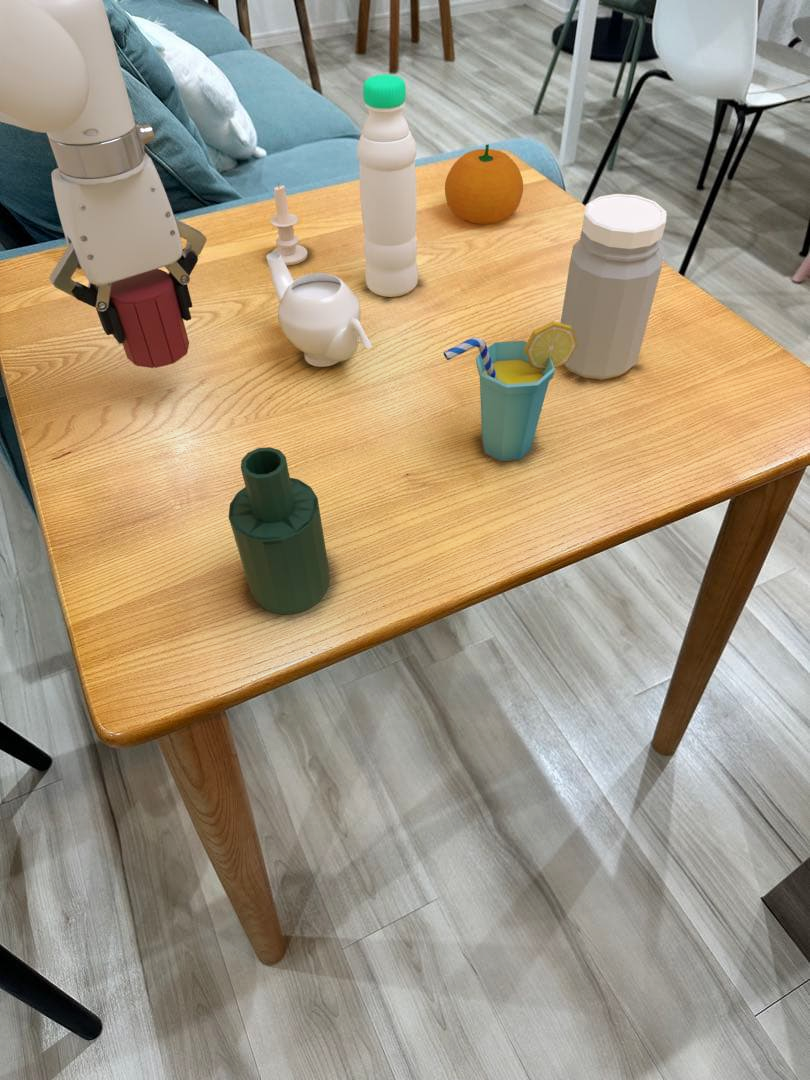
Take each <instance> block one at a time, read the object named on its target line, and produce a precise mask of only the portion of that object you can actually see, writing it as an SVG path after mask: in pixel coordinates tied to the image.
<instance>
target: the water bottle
mask: <svg viewBox="0 0 810 1080" xmlns="http://www.w3.org/2000/svg"><path fill="white" fill-rule="evenodd" d="M406 89H407V88H406V83H405V81H404V79H403V78H401V77H400V76H397V75H394V74H386V73H384V74H376V75H372V76H370V77H368V78H367V79H366V80H365V81H364V83H363V86H362V97H363V102H364V107H365V108H366V109H367V111H368V115H367V118H366V120H365V121H364V124H363V127H362V131H361V134H360V137H359V139H358V142H357V148H356V154H357V159H358V161H359V198H360V211H361V222H362V229H363V234H364V235H363V254H364V258H365V267H364V268H365V269H364V271H365V272H364V275H365V276H364V277H365V283H366V284H365V285H366V287H367V288H368V289H369V290H370V291H371V292H372V293H373V294H375V295H378V296H381V297H387V298H397V297H401V296H404V295H407V294H409V293H411V292H412V291H413V290H414V289H415V288H416V287H417V285H418V282H419V281H418V280H419V272H418V261H417V257H418V238H417V233H416V232H417V231H416V230H417V218H418V217H417V216H418V215H417V214H418V189H417V185H418V183H417V171H416V161H415V160H416V157H417V143H416V141H415V138H414V136H413V133H412V131H411V130H410V128H409V124H408V121H407V120H406V118H405V117H404V115H403V108H404V107H405V105H406V97H407V95H406V94H407V92H406Z"/></svg>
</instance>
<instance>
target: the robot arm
mask: <svg viewBox="0 0 810 1080" xmlns="http://www.w3.org/2000/svg"><path fill="white" fill-rule="evenodd" d="M132 109H133V108H132V106H131V102H130V98H129V94H128V91H127V87H126V82H125V79H124V75H123V71H122V67H121V63H120V59H119V55H118V52H117V49H116V44H115V40H114V37H113V32H112V30H111V25H110V22H109V17H108V14H107V10H106V7H105V4H104V0H0V122H1V123H3V124H7V125H11V126H15V127H18V128H21V129H24V130H28V131H31V132H36V133H42V134H43V133H44V134H46V136H47V139H48V141H49V144H50V147H51V151H52V153H53V155H54V158H55V162H56V164H57V168H55V169H53V170H52V171H51V174H50V175H51V184H52V190H53V195H54V200H55V205H56V209H57V212H58V216H59V220H60V224H61V228H62V230H63V234H64V237H65V241H66V244H67V247H66V248H65V250H64V252H63V253H62V255H61V256H60V258H59V260H58V262H57V263H56V265H55V267H54V268H53V270H52V271H51V273H50V274H49V277H48V278H49V282H50V283H51V285H52V286H53V287H54V288H55V289H58V290H59V291H62V292H63V293H65V294H67V295H69V296H72V297H73V298H75V299H76V300H77V301H79V302H82V303H84V304H86V305H88V306H91V307H93V308H95V310H96V313H97V316H98V318H99V321H100V324H101V326H102V329H103V331H104V333H105V334H106V336H110V335H112V336H113V338H114V339H115V340H116V341H117V343H118V344H119V345H122V343H124V341H126V339H125V336H124V333H123V330H122V327H121V324H120V321H119V318H118V315H117V312H116V310H115V308H114V307H113V306H112V305H111V303H110V302H109V299H110V293H111V286H112V283H113V282H117V281H120V280H123V279H126V278H130V277H133V276H136V275H139V274H143V273H146V272H149V271H152V270H155V269H161V268H165V269H166V270H167V271H168V274H169V275H170V277H171V279H172V280H173V283H174V287H175V291H176V295H177V298H178V302H179V306H180V310H181V313H182V317H183V321H186V322H188V321H191V320H192V315H191V311H190V308H193V302H192V299H191V298H192V297H191V294H190V290H189V286H188V284H189V283H190V281H191V274H192V272H193V270H194V269H195V267H196V265H197V264H198V261H199V255H201V253H202V251H203V249H204V247H205V245H206V243H207V237H206V235H205V234H203V233H202V232H201V230H199V229H196V228H194V227H193V226H190V225H189V224H187V223H185V222H183V221H181V220H179V219H177V218H175V215H174V212H173V209H172V206H171V203H170V200H169V198H168V195H167V192H166V190H165V187H164V185H163V182H162V180H161V178H160V175H159V173H158V171H157V168H156V166H155V164H154V162H153V160H152V158H151V156H149V154H148V153H147V152H146V150H145V148H146V146H145V145H147V144H148V143H149V142H153V141H156V138H155V133H154V130H153V128H152V126H151V125H150V124H149V123H148V124H144V125H142V124H138V123H137V122H135V118H134V117H135V116H134V114H133V110H132ZM181 238H182V239H184V240H186V243H185V247H183V242H182V239H181ZM76 270H82V272H83V273H84V275H85V278H86V279H87V281H88V285H85V284H82V283H80V282H78V281H75V280H73V279H72V277H73V275H74V273H75V272H76Z"/></svg>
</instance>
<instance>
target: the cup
mask: <svg viewBox="0 0 810 1080" xmlns="http://www.w3.org/2000/svg"><path fill="white" fill-rule="evenodd" d="M577 345H578V344H577V341H576V338H575V335H574V332H573V329H572V327H571V326H569V325H566V324H562V323H561V322H558V321H554V320H552V321H550V322H548V323H546V324H544V325H542V326H540V327H538V328H536V329H533V330H532V332H531V334H530V336H529V338H528V339H527V341H525V340H511V341H510V340H509V341H498V342H497V341H496V342H493V343H492V344H491V345H489V346H487V343H486V341H485V340H484V339H482V338H479V337H475V336H472V337H470V338H468V339H466V340H465V341H462V342H461V343H459V344H456V345H455V346H452V347H451V348H449V349H447V350H445V351H443V357H444V358H445V359H446V360H447V361H450V360H452V359H454V358H456V357H458V356H460V355H462V354H464V353H466V352H468V351H470V350H472V349H474V348H478V351H479V354H477V356H475V360H476V362H475V363H476V369H477V372H478V377H479V393H480V395H479V396H480V397H479V399H480V422H481V425H480V426H481V441H482V442H481V443H482V446H483V451H484V454H486V455H488V456H490V457H491V458H494V459H495V460H497V461H499V462H510V461H512V462H513V461H521V460H522V459H523V458H524V457H525V456H526V455H527V454H528V453H529V452H530V451H531V450H532V448H533V443H534V439H535V436H536V431H537V428H538V424H539V421H540V418H541V417H540V416H541V413H542V409H543V405H544V401H545V398H546V395H547V390H548V386H549V383H550V381H551V380H552V379H554V376H555V372H556V369H557V368H560V367H562V366H563V365H564V364H565V363H568V361H569V359H570V358H571V356H572V354H573V352H574V351H575V349H576V347H577Z"/></svg>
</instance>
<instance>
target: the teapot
mask: <svg viewBox="0 0 810 1080" xmlns="http://www.w3.org/2000/svg"><path fill="white" fill-rule="evenodd" d="M265 257H266V261H267V262H266V263H267V266H268V268H269V272H270V276H271V279H272V284H273V288H274V291H275V293H276V297H277V299H278V302H279V303H278V306H277V318H278V323H279V326H280V329H281V330H282V332H283V334H284V336H285V337H286V338H287V340H288V341H289V342H290V343H291V344H292V345H293V346H294V347H295V348H296V349H297V350H299V351H301V352H302V353H303V355H304V360H305V362H306V363H307V364H309V365H311V366H313V367H318V368H325V367H330V366H333V365H336V364H338V363H339V362H345V361H346V360H347V361H348V360H349V359H350V358H352V357H353V356H354V355H355V354H356V352H357V350H358V347H359V342H360V343H361V345H362V347H363V348H365V349H371V348H372V347H373V345H372V342H371V341H370V339H369V338H368V336H367V334H366V332H365V330H364V328H363V326H362V323H361V313H362V312H361V304H360V301H359V299H358V297H357V295H356V294H355V292H353V290H352V289H351V288H350V286H348V284H347V283H346V282H345V281H344V280H342V279H341V277H339V276H336V275H334V274H330V273H325V272H311V273H307V274H304V275H300V276H299V277H297V278H295V279H294V278H293V276H292V274H291V272H290V270H289V268H288V265H286V264H285V262H284V260H283V258H282V256H281V254H280V253H278V252H272V251H271V252H269V253H267V254H266V256H265Z"/></svg>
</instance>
